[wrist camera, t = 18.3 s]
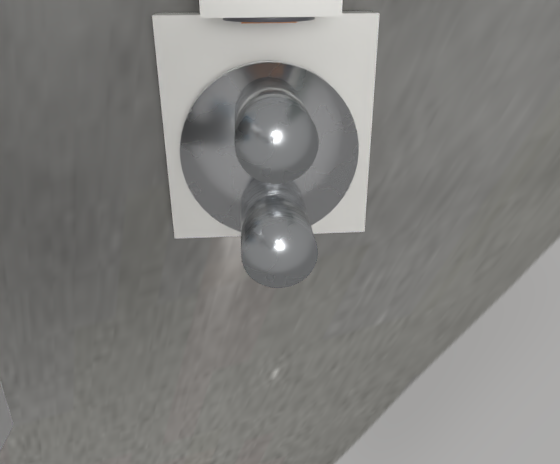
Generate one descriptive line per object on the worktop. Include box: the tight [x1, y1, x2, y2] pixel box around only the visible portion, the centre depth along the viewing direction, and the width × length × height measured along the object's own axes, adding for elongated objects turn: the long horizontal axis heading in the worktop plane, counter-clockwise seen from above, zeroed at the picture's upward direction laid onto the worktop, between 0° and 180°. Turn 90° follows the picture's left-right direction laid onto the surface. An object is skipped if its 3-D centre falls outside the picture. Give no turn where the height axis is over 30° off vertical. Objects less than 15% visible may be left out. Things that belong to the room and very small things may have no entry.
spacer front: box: [235, 77, 319, 184], centre depth 28 cm, size 4×4×7 cm
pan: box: [180, 60, 359, 232], centre depth 33 cm, size 11×11×1 cm
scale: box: [152, 0, 379, 239], centre depth 32 cm, size 13×16×7 cm
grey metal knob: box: [241, 179, 318, 288], centre depth 31 cm, size 4×4×7 cm
